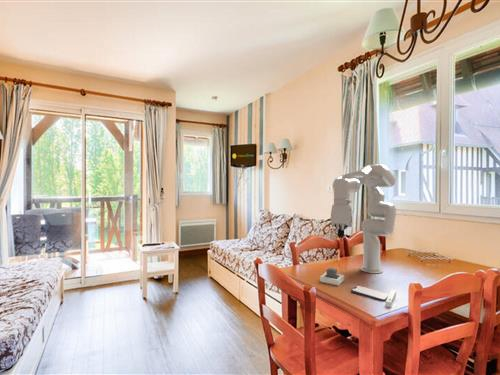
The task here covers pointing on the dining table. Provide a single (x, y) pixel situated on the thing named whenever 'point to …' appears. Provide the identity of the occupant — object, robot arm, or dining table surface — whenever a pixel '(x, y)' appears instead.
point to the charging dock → (391, 298)
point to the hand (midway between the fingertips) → (341, 237)
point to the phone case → (370, 293)
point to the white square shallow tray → (332, 281)
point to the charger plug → (332, 273)
